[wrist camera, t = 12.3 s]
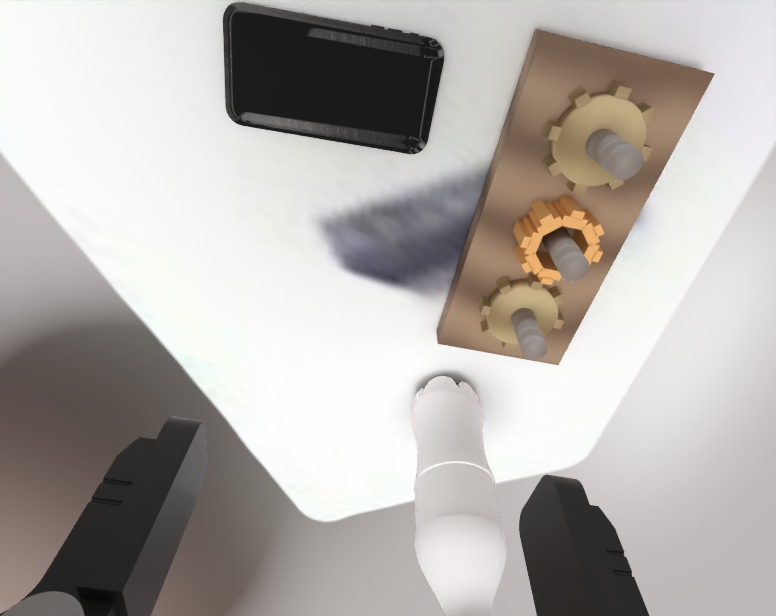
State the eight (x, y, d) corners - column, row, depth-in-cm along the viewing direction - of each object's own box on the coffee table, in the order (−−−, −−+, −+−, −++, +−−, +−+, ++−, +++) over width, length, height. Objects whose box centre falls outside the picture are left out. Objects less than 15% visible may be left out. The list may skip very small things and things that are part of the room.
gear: (528, 188, 36) (537, 202, 33) (605, 204, 36) (619, 219, 34) (501, 258, 39) (508, 277, 37) (572, 272, 40) (583, 291, 37)
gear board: (535, 29, 32) (570, 39, 25) (698, 69, 33) (773, 89, 26) (436, 330, 46) (442, 388, 40) (552, 351, 47) (577, 411, 41)
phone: (424, 156, 36) (226, 122, 35) (423, 152, 37) (230, 119, 36) (448, 39, 32) (222, -3, 31) (446, 38, 33) (227, -3, 32)
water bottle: (398, 386, 50) (396, 662, 30) (457, 358, 48) (499, 637, 27) (432, 425, 54) (451, 699, 33) (489, 401, 51) (548, 679, 31)
